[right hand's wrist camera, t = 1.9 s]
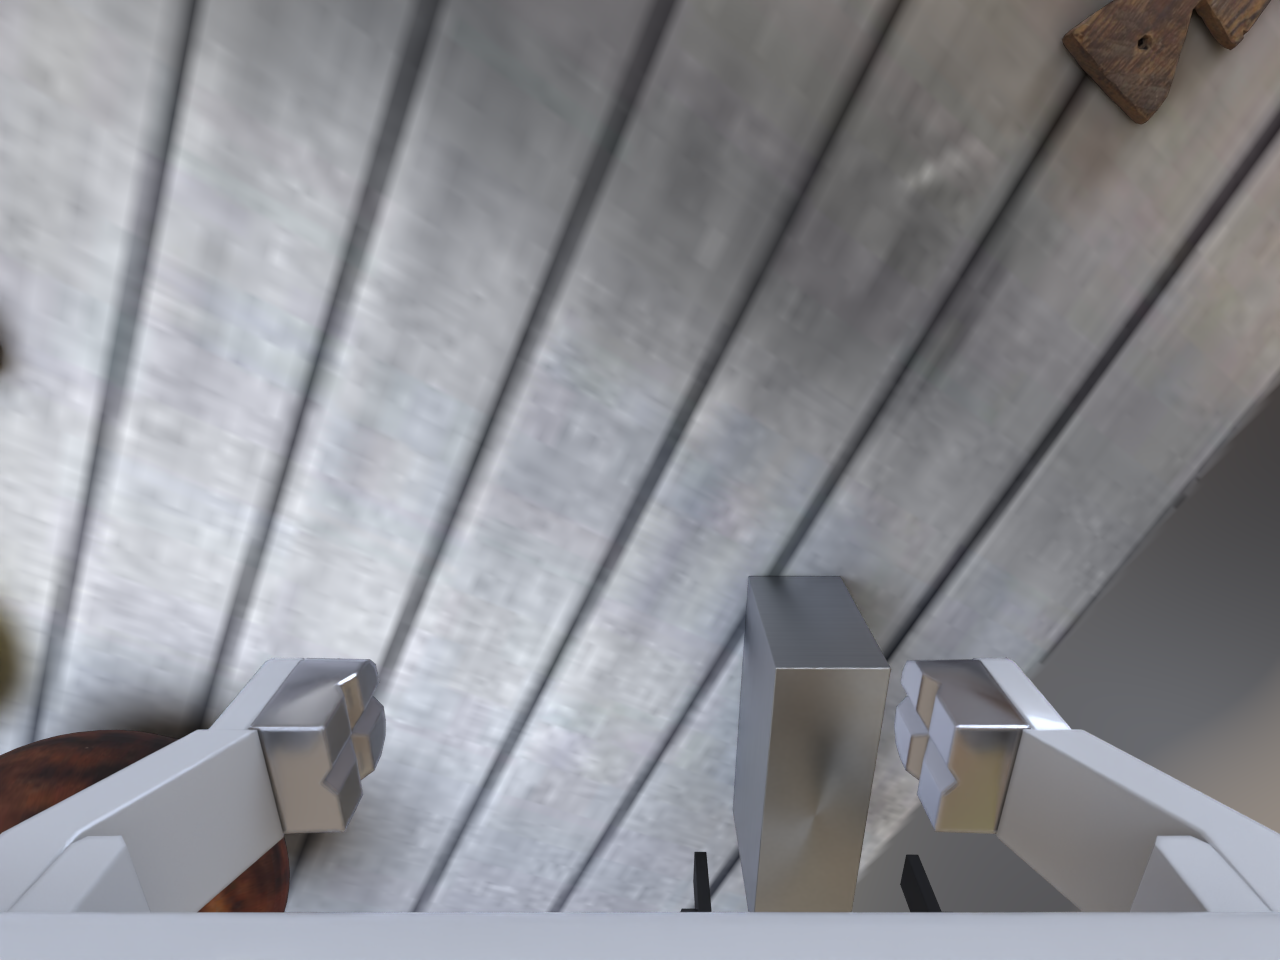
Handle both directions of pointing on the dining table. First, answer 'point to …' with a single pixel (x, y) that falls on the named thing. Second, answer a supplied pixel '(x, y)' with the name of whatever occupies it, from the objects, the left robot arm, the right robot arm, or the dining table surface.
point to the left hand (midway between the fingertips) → (804, 867)
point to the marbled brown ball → (79, 760)
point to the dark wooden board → (1150, 45)
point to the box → (805, 743)
